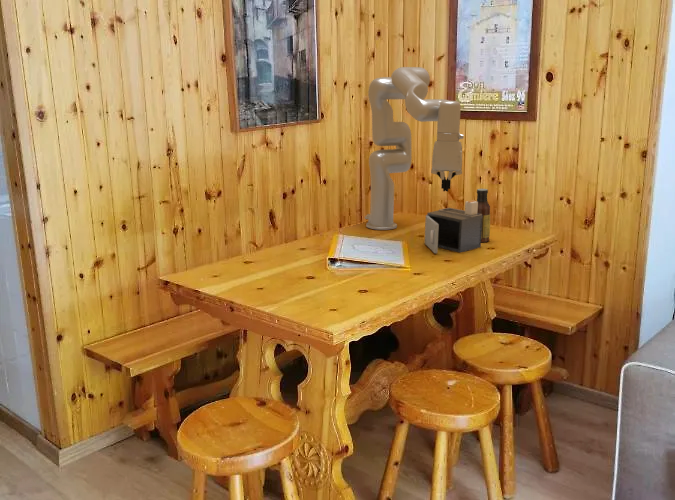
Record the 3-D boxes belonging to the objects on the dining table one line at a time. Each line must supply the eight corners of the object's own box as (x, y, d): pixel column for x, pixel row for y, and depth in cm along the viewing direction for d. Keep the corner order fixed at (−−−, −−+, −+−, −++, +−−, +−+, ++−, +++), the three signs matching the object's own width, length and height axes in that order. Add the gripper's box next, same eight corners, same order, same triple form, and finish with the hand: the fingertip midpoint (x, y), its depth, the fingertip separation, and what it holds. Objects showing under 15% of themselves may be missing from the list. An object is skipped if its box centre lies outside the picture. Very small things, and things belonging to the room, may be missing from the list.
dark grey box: (426, 244, 266) (427, 211, 263) (446, 239, 274) (448, 207, 271) (460, 252, 254) (462, 218, 251) (480, 247, 262) (482, 214, 259)
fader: (464, 214, 259) (465, 200, 258) (470, 212, 262) (471, 199, 260) (471, 215, 257) (472, 201, 256) (477, 214, 259) (478, 200, 258)
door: (421, 243, 265) (422, 215, 262) (426, 243, 265) (428, 215, 263) (431, 253, 251) (432, 224, 248) (437, 253, 251) (438, 223, 248)
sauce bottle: (488, 239, 275) (491, 188, 270) (490, 243, 269) (493, 191, 263) (471, 238, 275) (474, 187, 270) (472, 242, 269) (475, 190, 264)
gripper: (470, 137, 245) (467, 190, 250) (427, 136, 249) (425, 188, 253) (469, 139, 238) (466, 193, 243) (424, 138, 242) (423, 191, 246)
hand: (445, 190), depth 248 cm, fingers closed
